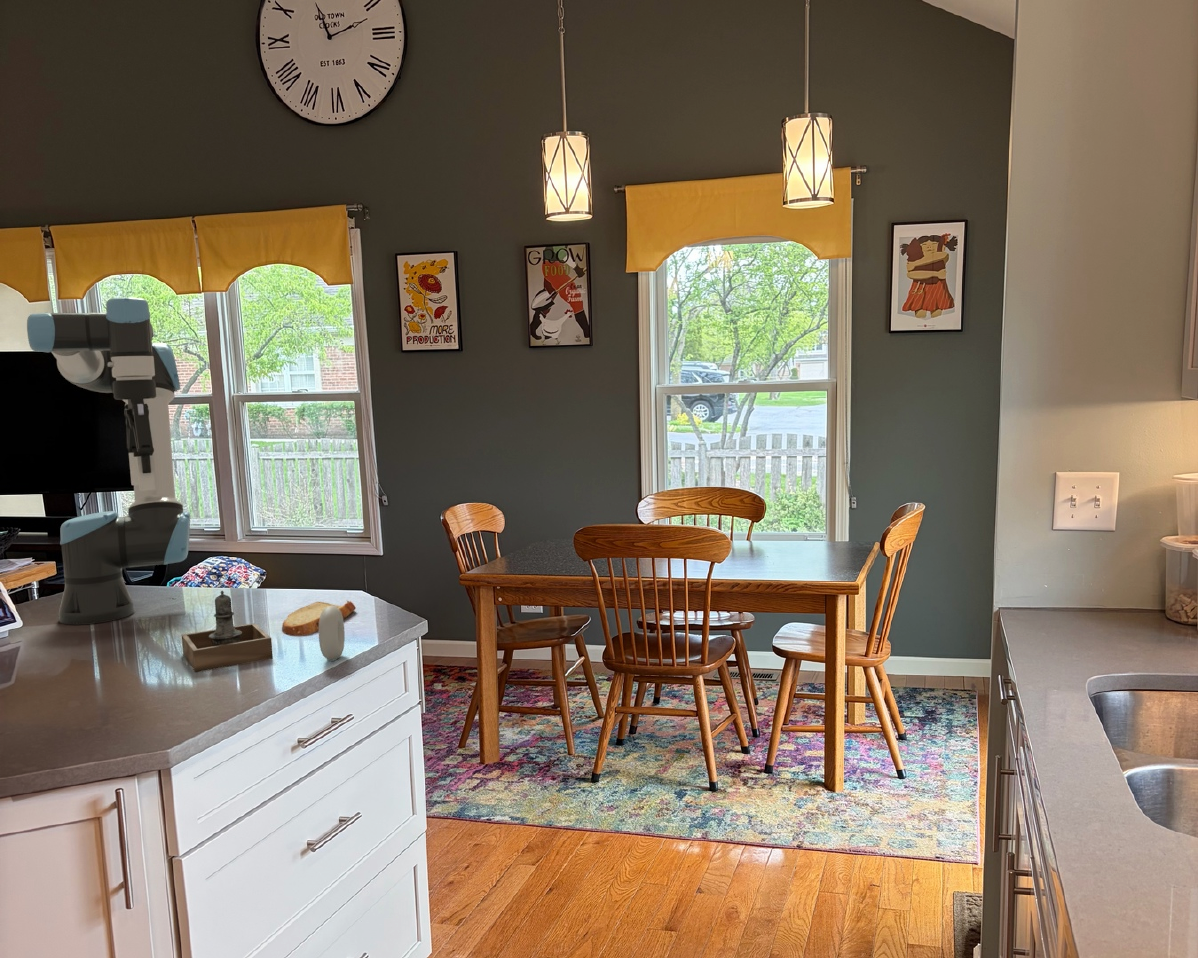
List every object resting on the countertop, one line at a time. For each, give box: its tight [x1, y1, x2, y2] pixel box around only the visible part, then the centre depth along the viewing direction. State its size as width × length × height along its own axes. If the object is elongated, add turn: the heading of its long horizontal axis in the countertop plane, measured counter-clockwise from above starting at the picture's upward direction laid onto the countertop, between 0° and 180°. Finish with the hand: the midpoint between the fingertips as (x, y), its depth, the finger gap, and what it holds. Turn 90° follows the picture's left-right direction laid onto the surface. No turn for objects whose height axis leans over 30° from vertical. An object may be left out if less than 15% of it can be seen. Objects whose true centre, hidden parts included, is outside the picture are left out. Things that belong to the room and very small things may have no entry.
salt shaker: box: [209, 590, 242, 646], centre depth 183 cm, size 6×6×12 cm
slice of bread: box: [281, 600, 357, 637], centre depth 208 cm, size 18×18×4 cm
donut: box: [318, 606, 346, 662], centre depth 179 cm, size 10×3×10 cm, turn 5°
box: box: [181, 622, 274, 673], centre depth 183 cm, size 14×14×4 cm
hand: (143, 487), depth 190 cm, fingers open, 13 cm apart
